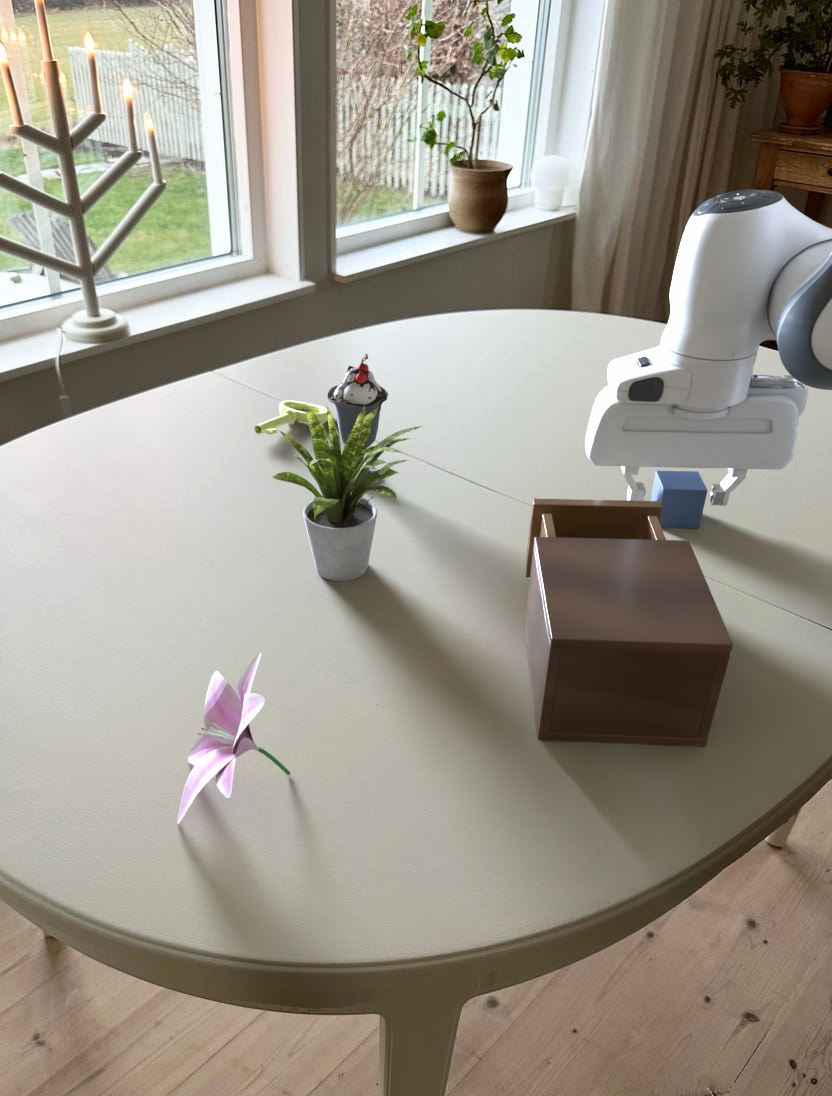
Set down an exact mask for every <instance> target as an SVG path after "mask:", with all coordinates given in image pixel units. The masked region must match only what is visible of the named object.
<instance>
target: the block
mask: <svg viewBox="0 0 832 1096" xmlns="http://www.w3.org/2000/svg"><path fill="white" fill-rule="evenodd" d="M651 489H652V490H651V495H650V500H649V501H660V503H661V505H662V512H661V517H660V522H659V523H660V526H661V528H669V529H671V528H673V529H675V528H677V529H678V528H679V529H699V528H700V526H701V522H702V517H703V512H704V508H705V504H706V500H707V496H708V495H707V494H708V492H709V491H708V488H707V486H706V484H705V482H704V480H703V478H702V476H701V474H700V472H699V471H698V470H697V471H695V470H694V471H693V470H690V471H688V470H655V474H654V478H653V485H652V488H651Z"/></svg>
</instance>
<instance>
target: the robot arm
mask: <svg viewBox="0 0 832 1096" xmlns="http://www.w3.org/2000/svg"><path fill="white" fill-rule="evenodd" d="M669 304H670V305H669V307H670V313H669V318H668V321H667V324H666V326H665V328H664V330H663V332H662V335H661V337H660V343H659V345H657V346H654V347H651V348H648V349H644V350H641V351H638V352H635V353H631V354H628V355H624V356H620V357H617V358H613V359H612V360H611V361H610V362H609V363H608V366H607V375H606V376H607V378H606V379H607V383H608V385H606V386H605V387H604V388H602V389H601V390H600V392H598V394H597V396H596V398H595V401H594V403H593V406H592V409H591V413H590V417H589V419H588V424H587V429H586V434H585V439H584V448H585V449H584V450H585V454H586V457H587V458H588V460H589V461H590V462H591V464H592V465H594V466H596V467H620V469H621V471H622V474H623V475H624V476H623V477H624V479H625V482H626V483H627V486H628V487H627V492H626V500H627V501H645V498H644V497H645V496H646V492H647V489H646V487H645V483H644V482H640V481H636V480H635V478H634V476H638V475H639V470H640V468H675V469H677V468H678V469H679V468H681V469H720V470H721V469H722V470H723V469H725V470H726V469H727V470H728V474H726V476H725V477H724V478H723V479H722V480H721V482H720V483H712V484H711V487H710V491H711V492H710V493H709V497H708V501H709V502H710V505H711V506H715V507H716V506H717V507H718V506H720V507H721V506H722V507H727V505H728V503H729V500H730V499H729V498H730V495H731V493H732V492H733V491H735V489H736V488H737V487H738V486H739V485H740V484H741V483H742V482H743V481H744V480H745V479H746V477H747V473H748V470H772V471H773V470H775V471H776V470H777V471H779V470H781V471H782V470H783V469H784V468H786V467H787V466H788V465H789V464H790V463H791V462H792V461H793V459H794V456H795V451H796V446H797V440H798V433H799V432H798V430H799V417H801V416H802V414H803V413H804V411H805V409H806V406H807V402H808V398H809V388H808V387H811V388H813V389H817V390H822V391H823V390H824V391H832V228H831V227H828V226H826V225H824V224H822V223H819V222H817V221H815V220H813V219H812V218H810V217H809V216H807V215H805V214H804V213H802V212H800V211H799V210H798V209H797V208H795V207H794V206H793V205H791V203H790V202H789V201H788V200H787V199H786V198H785V196H784V195H783V194H782V193H780V192H777V191H774V190H770V189H755V188H753V189H740V190H733V191H729V192H725V193H720V194H718V195H716V196H714V197H711V198H709V199H707V200H705V201H704V202H702V204H700V205H699V206H698V207H697V208H696V209H695V210H694V211H693V212H692V214H691V216H690V217H689V219H688V221H687V224H686V225H685V228H684V231H683V234H682V237H681V240H680V244H679V247H678V252H677V255H676V259H675V264H674V268H673V273H672V278H671V282H670V287H669ZM765 341H776V344H777V350H778V355H779V358H780V361H781V364H782V366H783V367H784V369H785V370H786V372H787V373H788V374H789V375H785V374H784V375H781V376H779V375H769V374H753V373H754V370H755V365H756V360H757V357H758V351H759V348H760V344H762V343H764V342H765Z"/></svg>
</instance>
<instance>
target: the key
mask: <svg viewBox="0 0 832 1096" xmlns="http://www.w3.org/2000/svg"><path fill="white" fill-rule="evenodd" d="M306 406H307V407H309V408H310V409H311V410H313V412H314V414H315V415H316V417H317V419H318V420H319V421H320V422H321V424H323V423H327V422H328V415H327V407H325V406H322V405H318V404H314V403H310V402H305V401H299V400H284V401H281V402H279V407H278V409H279V410H278V411H279V416H276V417H274V418H271V419H268V420H266V421H263V422H260V423H258V424H256V425H254V427H253V430H254V432H255V433H256V435H258V436H259V435H263V434H267V435H270V436H271V435H274V434H278V429H277V428H279V427H282V426H284V425H288V424H290V425H289V426H292V425H294V424H295V423H296V421H297V422H301V423H307V424H308V419H307V414H306V408H305V407H306ZM303 410H304V411H303Z"/></svg>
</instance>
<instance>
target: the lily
mask: <svg viewBox="0 0 832 1096" xmlns="http://www.w3.org/2000/svg"><path fill="white" fill-rule="evenodd" d="M261 656H262V652H259V653H258V654H257V655H256V656H255V657H254V659H252V661H251V663H250V664H249V666H248V667H247V668H246V670H245V671H244V673H243V674H242V676H241V678H240V679H239V681H238V683H237V685H236V687H235V689H234V687H233V686H232V685H231V684H230V683H229V681H228V680H227V679H226V678H224V676H223V675H222V674H221V673H220V671H218V670H216V671H214V672H213V674H212V676H211V678H210V681H209V684H208V687H207V691H206V696H205V700H204V706H203V723H204V726H203V727H201V728H200V729H201V731H203V732H199V733H197V735H199V738H198V739H197V740H196V742H195V744H194V745H193V747H192V749H191V750H190V752H189V753H188V756H187V757H188V758H187V762H188V763H189V764H191V765H193V766H194V767H193V768H192V769H191V771H190V772H189V774H188V777H187V780H186V781H185V784H184V787H183V791H182V794H181V798H180V803H179V807H178V811H177V818H176V823H177V825H179V824H180V823H181V822H182V820H183V819H184V817H185V815H186V813H187V811H188V810H189V808H190V806H191V805H192V803H193V802H194V801H195V799H196V797H197V795H198V794H199V793H200V792H201V791H202V789H203V788H204V787H205V786H206V784H207V783H208V782H209V781H211V779H212V778H213V777H215V784H216V787H217V788H218V790H219V792H220V794H222V795H223V796H224V797H225V798H226V799H230V798H231V795H232V791H233V783H234V782H233V781H234V774H235V766H236V759H238V758H239V757H241V755H244V754H245V753H247V752H249V751H250V750H255V751H257V752H259V753H261V754H262V755H264V756H265V757H267V759H269V760H271V761H272V762H273V763H274V764H275V765H276V766H277V767H279V769H280V770H281V771H283V773H285V774H286V776H290V775H291V771H289V769H288V768H287V767H285V766H284V765H283V763H281V762H280V761H279V759H277V758H276V757H275V756H274V755H273V754H271V753H269V752H268V751H267V750H265V749H264V748H262V747H261V746H260V745H258V744H257V743H256V742H255V741H254V738H253V735H252V731H251V728H250V723H251V722H252V720H253V719H254V718H255V717H256V716H257V715H258V713H259V712H260V711H261V709H262V708H263V707H264V705H265V703H266V699H265V697H264V696H263V695H261V694H260V693H259V694H258V693H255V692H251V689H252V685H253V681H254V679H255V675H256V672H257V670H258V669H257V668H258V666H259V663H260V659H261Z"/></svg>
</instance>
